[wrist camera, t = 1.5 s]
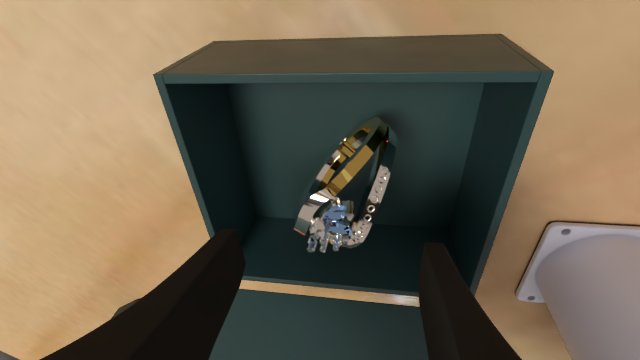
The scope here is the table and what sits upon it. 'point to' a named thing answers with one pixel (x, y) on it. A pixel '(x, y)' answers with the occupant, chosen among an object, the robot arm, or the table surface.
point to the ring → (332, 218)
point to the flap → (318, 329)
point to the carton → (342, 119)
